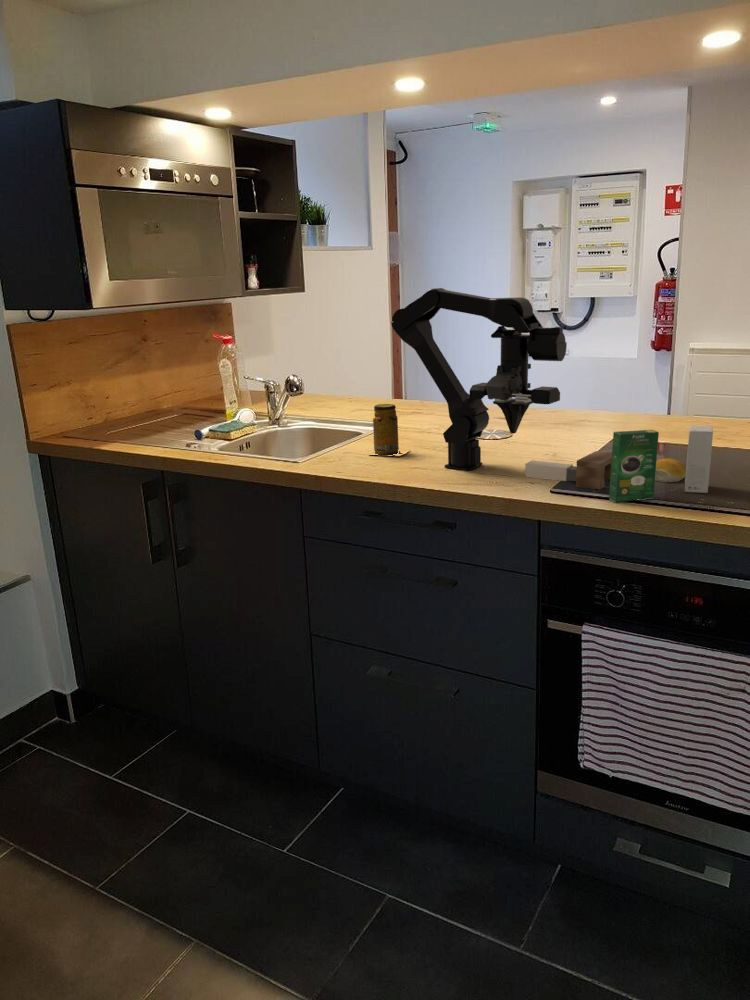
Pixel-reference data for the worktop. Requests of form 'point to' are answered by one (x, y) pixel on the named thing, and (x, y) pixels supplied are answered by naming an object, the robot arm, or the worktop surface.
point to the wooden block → (593, 470)
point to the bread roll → (669, 470)
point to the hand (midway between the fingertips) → (513, 433)
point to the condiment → (385, 429)
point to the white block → (550, 470)
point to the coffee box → (633, 465)
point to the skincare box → (698, 459)
